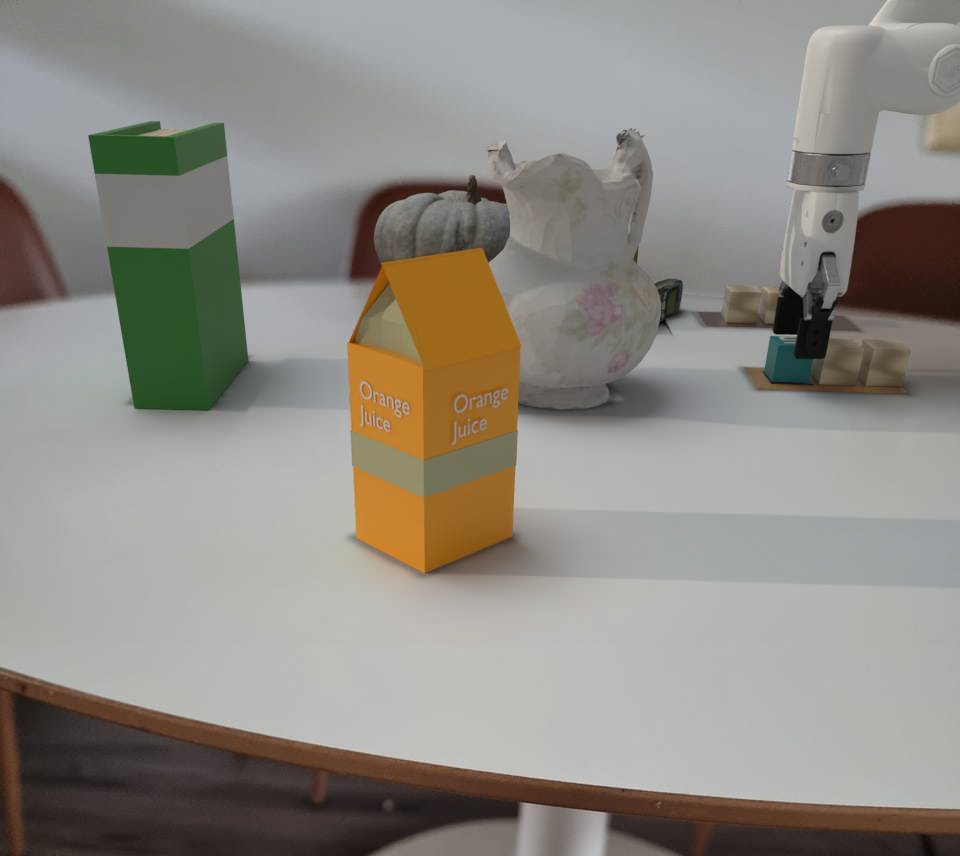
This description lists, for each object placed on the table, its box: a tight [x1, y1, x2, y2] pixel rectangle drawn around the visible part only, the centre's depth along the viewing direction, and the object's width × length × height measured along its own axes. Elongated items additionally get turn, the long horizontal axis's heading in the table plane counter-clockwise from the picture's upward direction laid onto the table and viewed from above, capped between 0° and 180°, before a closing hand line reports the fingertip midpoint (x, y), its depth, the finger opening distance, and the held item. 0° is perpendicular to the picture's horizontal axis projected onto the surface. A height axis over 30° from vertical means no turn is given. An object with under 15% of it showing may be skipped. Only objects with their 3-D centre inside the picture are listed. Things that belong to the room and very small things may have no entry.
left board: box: [696, 284, 860, 332], centre depth 130 cm, size 20×8×5 cm, turn 88°
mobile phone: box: [654, 278, 684, 324], centre depth 130 cm, size 5×3×15 cm
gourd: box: [373, 174, 510, 267], centre depth 132 cm, size 25×25×17 cm
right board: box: [742, 337, 912, 395], centre depth 107 cm, size 16×8×5 cm, turn 88°
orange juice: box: [346, 248, 522, 574], centre depth 66 cm, size 8×9×20 cm
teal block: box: [764, 335, 813, 383], centre depth 106 cm, size 4×4×4 cm
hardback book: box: [87, 120, 249, 411], centre depth 97 cm, size 18×7×24 cm, turn 179°
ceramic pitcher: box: [484, 127, 661, 410], centre depth 97 cm, size 22×20×25 cm
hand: (797, 345), depth 106 cm, fingers open, 9 cm apart
